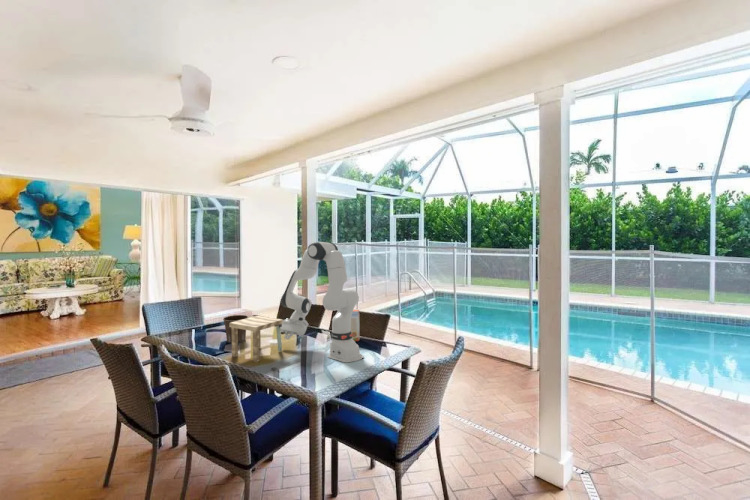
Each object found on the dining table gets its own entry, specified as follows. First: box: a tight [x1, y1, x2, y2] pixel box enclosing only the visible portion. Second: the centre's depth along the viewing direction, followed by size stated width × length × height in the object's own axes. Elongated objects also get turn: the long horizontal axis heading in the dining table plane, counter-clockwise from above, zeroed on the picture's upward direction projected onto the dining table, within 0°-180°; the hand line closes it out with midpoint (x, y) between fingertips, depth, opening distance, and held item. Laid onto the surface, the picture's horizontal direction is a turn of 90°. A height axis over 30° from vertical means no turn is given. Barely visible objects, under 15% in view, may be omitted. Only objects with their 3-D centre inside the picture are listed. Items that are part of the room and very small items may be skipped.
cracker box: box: [350, 309, 361, 342], centre depth 260 cm, size 14×6×21 cm, turn 84°
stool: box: [229, 315, 284, 363], centre depth 230 cm, size 22×22×20 cm
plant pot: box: [222, 314, 249, 344], centre depth 260 cm, size 16×16×16 cm
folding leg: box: [275, 325, 283, 352], centre depth 234 cm, size 2×2×17 cm
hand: (286, 338), depth 239 cm, fingers closed
